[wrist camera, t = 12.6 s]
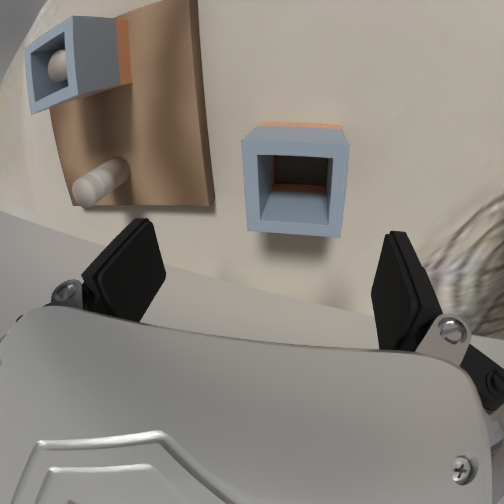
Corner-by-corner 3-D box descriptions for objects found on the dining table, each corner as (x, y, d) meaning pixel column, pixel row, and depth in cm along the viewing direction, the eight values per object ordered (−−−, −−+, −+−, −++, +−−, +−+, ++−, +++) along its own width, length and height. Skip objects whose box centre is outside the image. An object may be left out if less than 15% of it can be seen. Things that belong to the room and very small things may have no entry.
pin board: (197, -3, 13) (151, -24, 8) (215, 198, 23) (183, 240, 18) (54, 53, 17) (3, 63, 12) (81, 199, 26) (42, 230, 21)
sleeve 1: (127, 20, 14) (72, 15, 9) (132, 83, 17) (78, 94, 12) (77, 41, 15) (24, 48, 10) (83, 98, 18) (31, 115, 13)
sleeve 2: (340, 125, 18) (349, 144, 13) (335, 196, 21) (340, 237, 16) (261, 122, 19) (241, 140, 14) (264, 192, 22) (247, 230, 17)
